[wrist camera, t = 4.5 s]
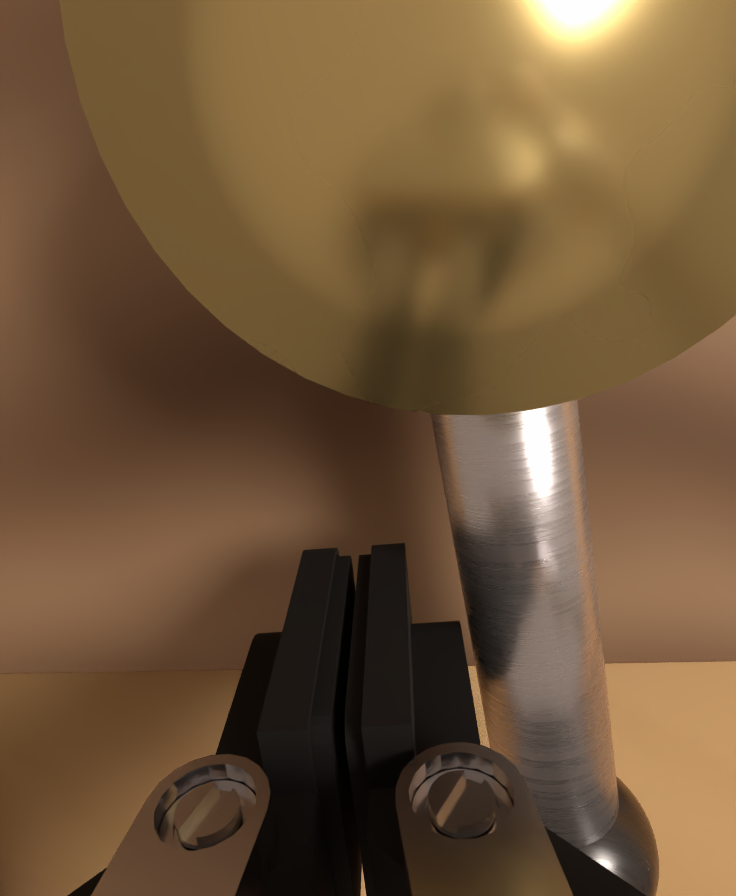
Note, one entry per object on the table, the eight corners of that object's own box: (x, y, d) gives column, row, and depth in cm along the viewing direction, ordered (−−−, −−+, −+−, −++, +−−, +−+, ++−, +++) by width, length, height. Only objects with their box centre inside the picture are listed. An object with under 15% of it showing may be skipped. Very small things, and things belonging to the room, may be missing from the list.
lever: (174, -123, 9) (-118, -539, 4) (643, -257, 8) (1013, -976, 3) (399, 802, 14) (396, 1123, 9) (696, 769, 13) (867, 1099, 8)
